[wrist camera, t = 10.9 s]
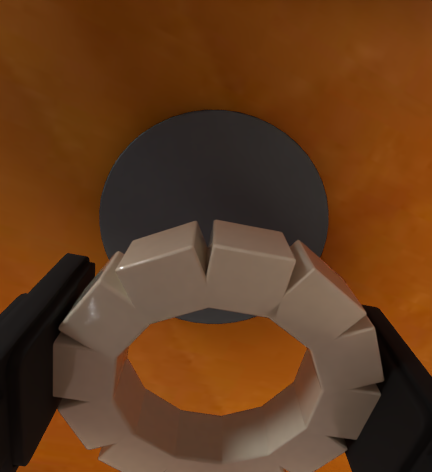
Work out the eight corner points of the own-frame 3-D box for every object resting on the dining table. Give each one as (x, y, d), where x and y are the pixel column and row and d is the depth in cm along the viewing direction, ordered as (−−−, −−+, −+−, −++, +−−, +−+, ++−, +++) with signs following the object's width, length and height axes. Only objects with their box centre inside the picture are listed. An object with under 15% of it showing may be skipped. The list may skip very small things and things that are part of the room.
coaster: (201, 49, 13) (200, 47, 13) (372, 218, 16) (376, 222, 16) (59, 237, 16) (55, 241, 16) (222, 349, 19) (222, 356, 19)
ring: (199, 151, 7) (195, 164, 5) (415, 342, 9) (451, 385, 7) (23, 361, 9) (-9, 405, 8) (226, 475, 11) (227, 527, 9)
